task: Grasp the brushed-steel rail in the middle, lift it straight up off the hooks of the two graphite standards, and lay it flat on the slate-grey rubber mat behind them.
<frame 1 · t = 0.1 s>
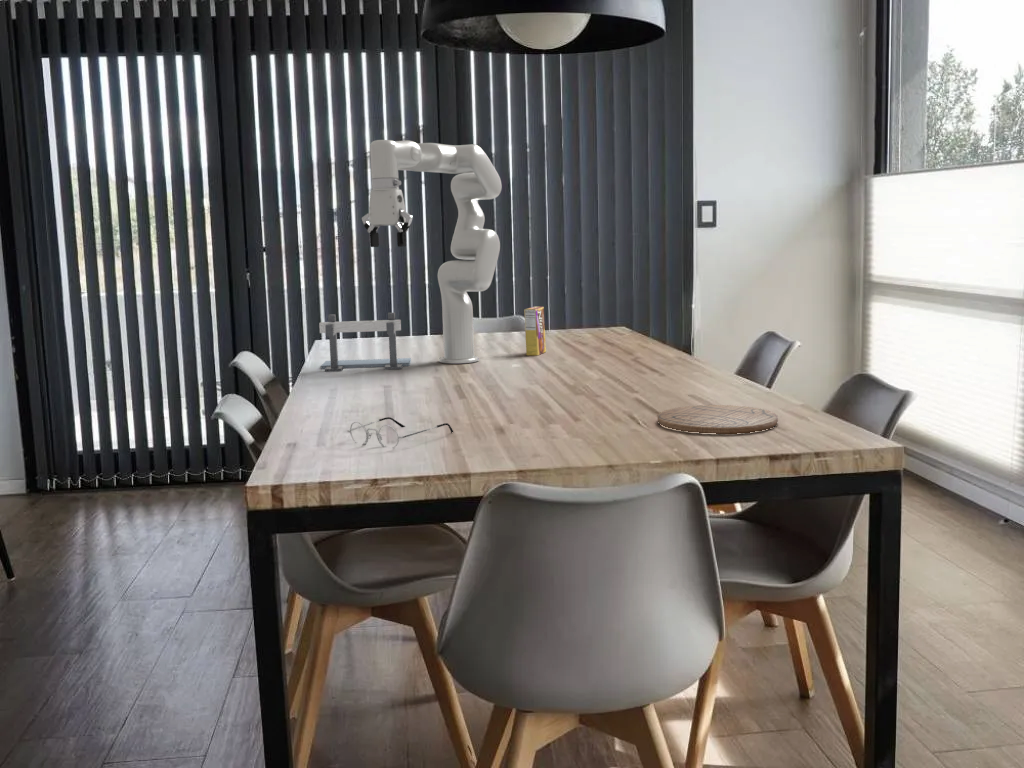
hand: (388, 246, 290), 37 cm above the table, tool pointing down, fingers open, 9 cm apart
trivet: (717, 425, 217), on the table
eyeglasses: (401, 440, 211), on the table
rubber mat: (366, 364, 321), on the table
steel rail: (360, 331, 306), point 12 cm above the table, touching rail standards
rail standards: (363, 369, 311), on the table
candy box: (535, 354, 336), on the table
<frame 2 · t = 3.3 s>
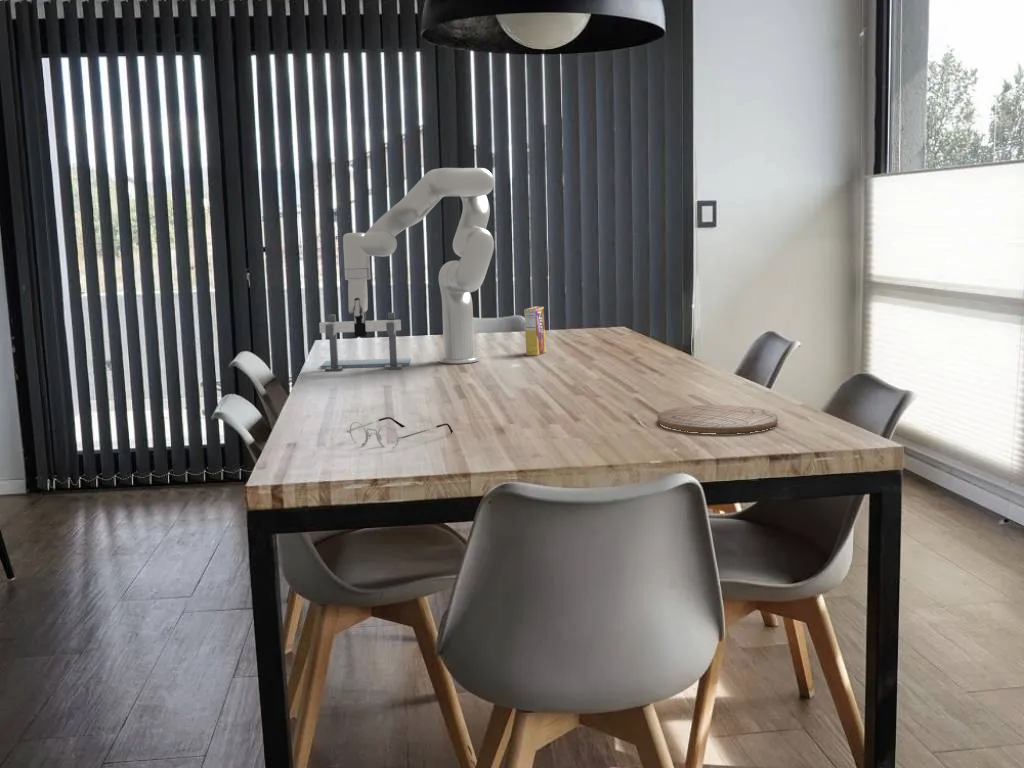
hand: (360, 335, 306), 11 cm above the table, tool pointing down, fingers closed on steel rail, 2 cm apart
steel rail: (360, 331, 306), point 12 cm above the table, touching gripper, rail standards
everything else where it was.
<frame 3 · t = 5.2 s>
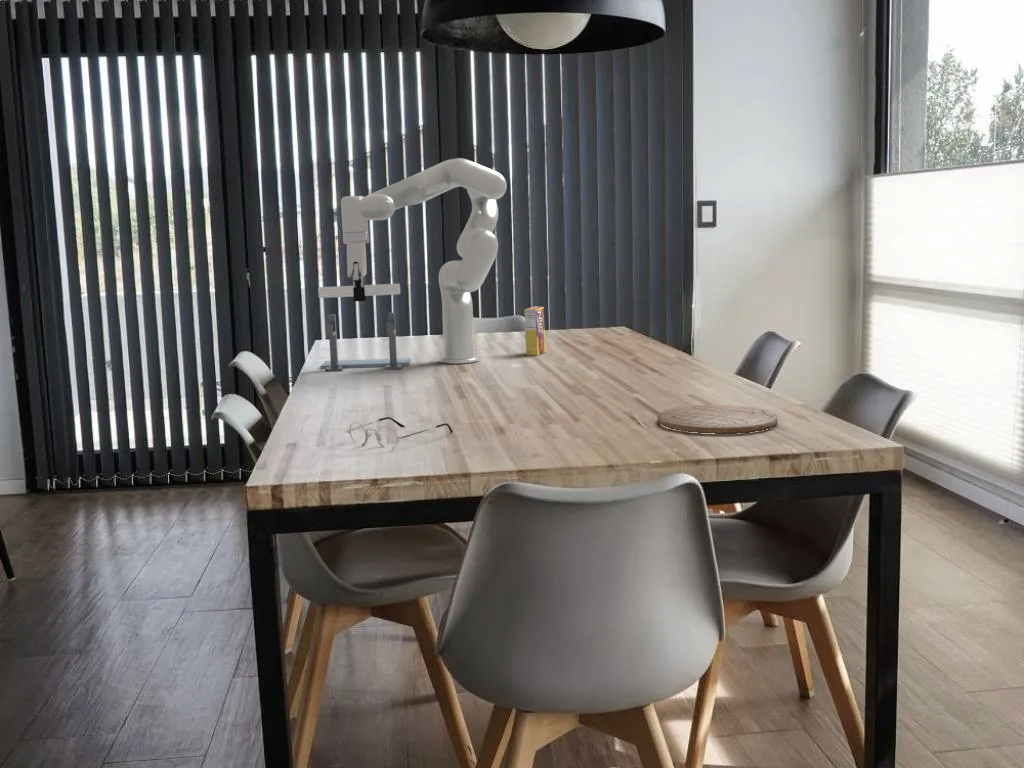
hand: (360, 300, 305), 21 cm above the table, tool pointing down, fingers closed on steel rail, 2 cm apart
steel rail: (359, 295, 305), point 23 cm above the table, touching gripper
everything else where it was.
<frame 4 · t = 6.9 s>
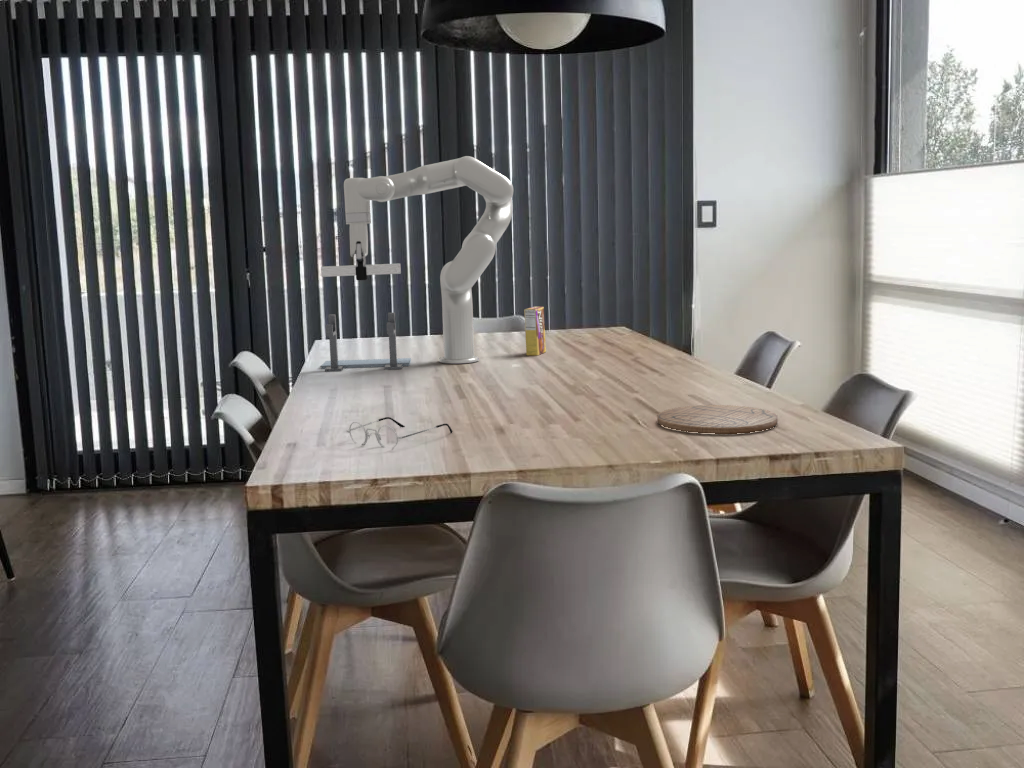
hand: (361, 279, 314), 27 cm above the table, tool pointing down, fingers closed on steel rail, 2 cm apart
steel rail: (361, 275, 314), point 28 cm above the table, touching gripper
everything else where it was.
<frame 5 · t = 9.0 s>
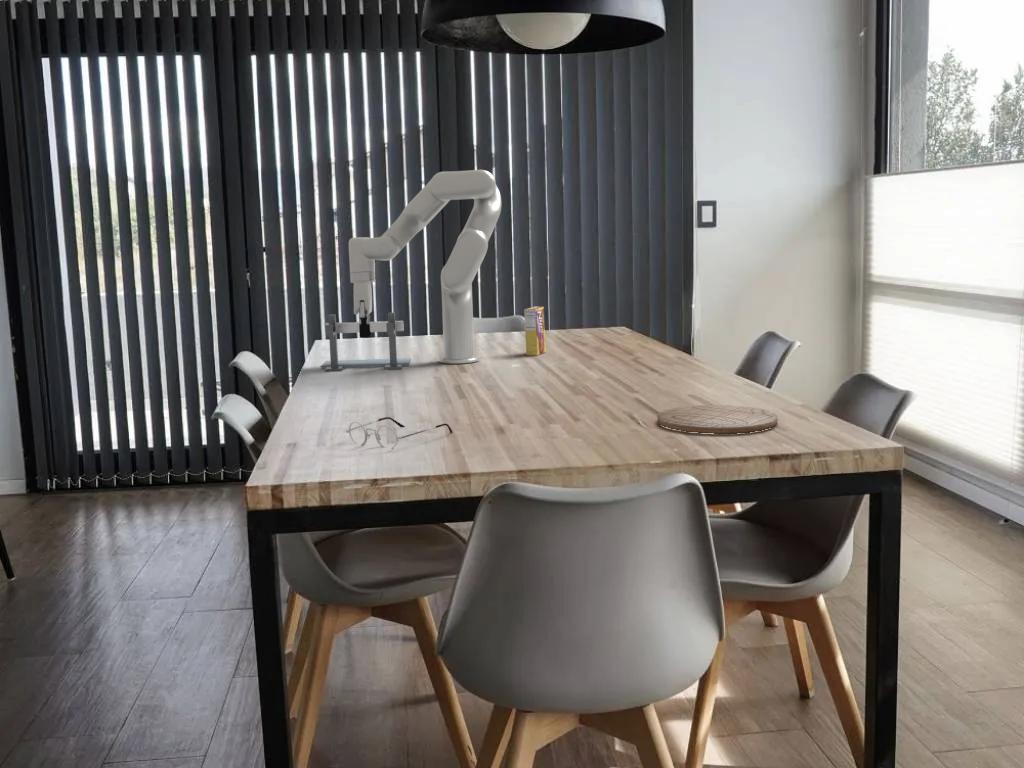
hand: (365, 336, 319), 9 cm above the table, tool pointing down, fingers closed on steel rail, 2 cm apart
steel rail: (365, 331, 319), point 10 cm above the table, touching gripper
everything else where it was.
when the fingers open (2 cm above the table, at t = 10.7 s): steel rail drops 2 cm, resting on rubber mat.
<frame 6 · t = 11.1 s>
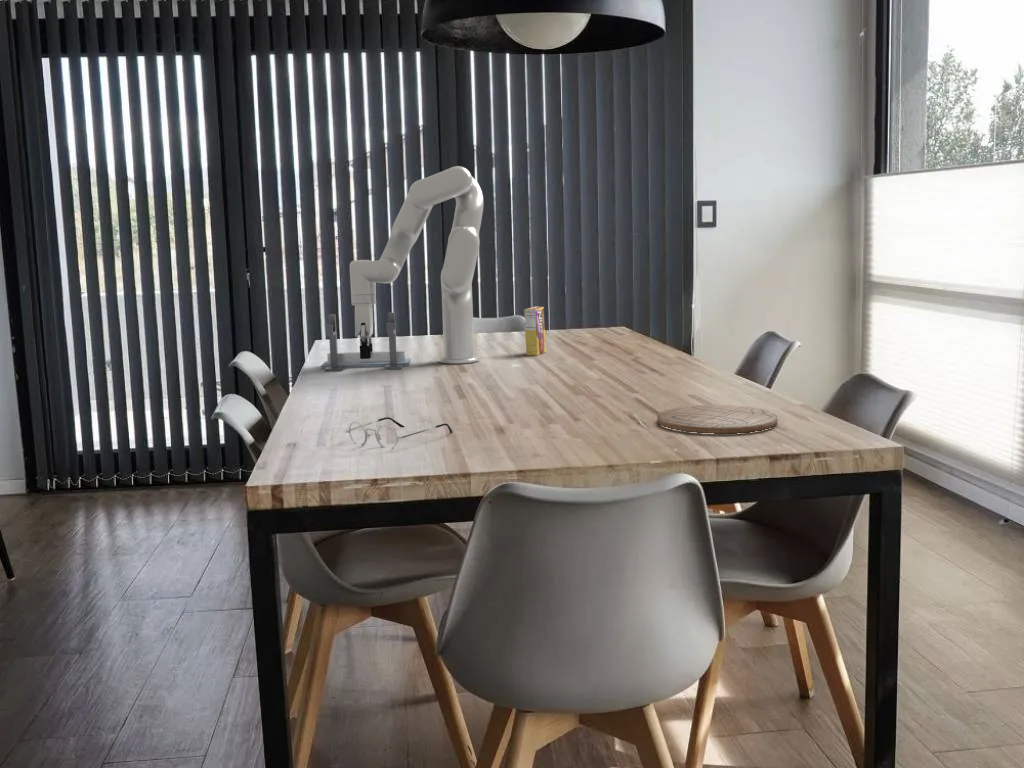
hand: (366, 356, 320), 3 cm above the table, tool pointing down, fingers open, 6 cm apart
steel rail: (366, 361, 321), point 1 cm above the table, touching rubber mat
everything else where it was.
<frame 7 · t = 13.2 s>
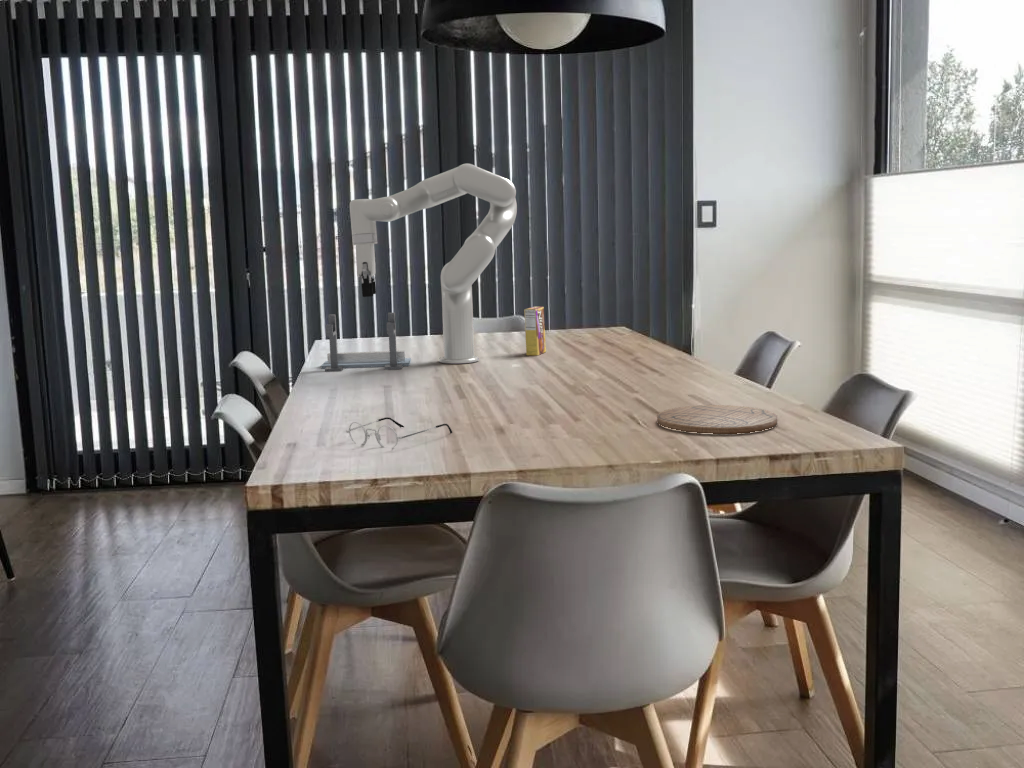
hand: (369, 295, 317), 22 cm above the table, tool pointing down, fingers open, 9 cm apart
nothing on the table moved.
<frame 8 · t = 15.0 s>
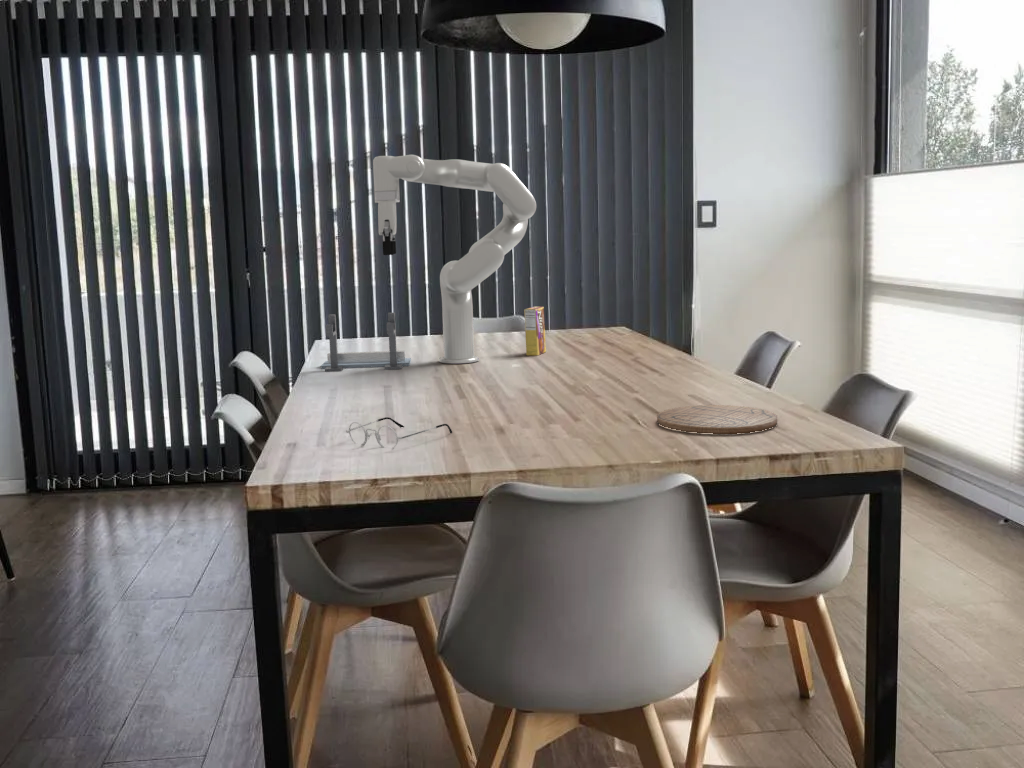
hand: (389, 254, 313), 34 cm above the table, tool pointing down, fingers open, 9 cm apart
nothing on the table moved.
at the end: steel rail inside the target area (0.0 cm from its centre), point 1.0 cm above the table; steel rail tilted 0°; the gripper is holding nothing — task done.
